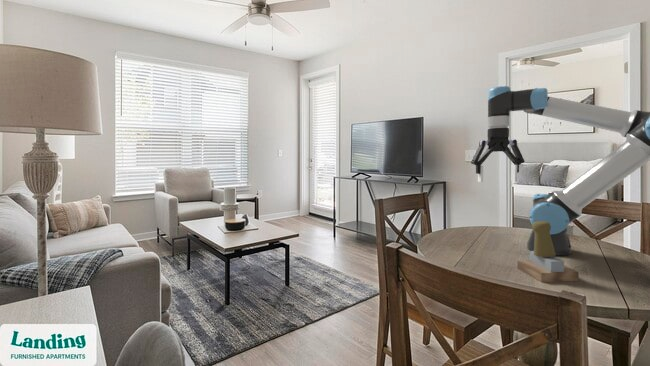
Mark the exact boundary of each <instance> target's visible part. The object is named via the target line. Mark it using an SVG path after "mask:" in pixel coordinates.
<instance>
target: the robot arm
mask: <svg viewBox="0 0 650 366" xmlns="http://www.w3.org/2000/svg"><path fill="white" fill-rule="evenodd" d="M548 91H549V90H548V89H547V88H546V87H541V88H538V87H535V88H530V89H520V90H511V87H510V86H507V85H506V86H505V85H504V86H502V85H501V86H495V87H492V88H490V89H489V90H488V100H487V128H488V129H487V140H484V139H483V140H480V141H479V143H478V147H477V149H476V151H475V152H474V155H473V157H472V159H471V161H470V163H471V165H474V166H475V174H477V182H478V183H484V165H483V164H484V162H485V161H486V160H487V158H489V156H490V155H491V153H493V152H503V153H504V154H505V155H506V156H507V158H508V159H509V160H510V161H511V163H512V164H511V165H510V168H511V169H510V181H511V182H518V181H517V180H518V173H519V172H520V166H521V165H522V164H524V163H526V162H525V159H524V157H523V155H522V152H521V150H520V148H519V146H518V141H517V139H509V137H510V128H509V127H510V112H520V111H523V112H524V113H526V114H531V115H537V116H543V117H547V118H552V119H556V120H561V121H566V122H570V123H574V124H578V125H582V126H588V127H591V128H592V127H593V128H597V129H600V130H606V131H610V132H614V133H618V134H620V135H621V137H624V138H625V142H623V143H622V144H620V145H619V146H618V147H617V148H615V149H614V150H613V151H611V152H610V153H609V154H607V155H606V156H605V157H603V158H602V159H600V160H599V161H598V162H597V163H595V164H594V165H593V166H592V167H590V168H589V169H587V171H584V173H583V174H581V175H580V176H579V177H577V178H576V179H575V180H573V181H572V182H571V183H569V184H568V185H567V186H566V187H564V188H562V189H561V190H553V191H551V192H550V193H535V194H534V195H533V199H532V202H533V203H532V208H531V209H530V210H529V211H530V212H529V221H530V223H531V225H532V224H533V223H534V222H537V221H545V222H548V223H550V225H551V230H550V231H549V232H550V236H551V240H552V243H553V247H554V251H555V254H556V255H555V256H569V255H571V254H572V251H573V250H572V249H573V247H572V244H571V240H570V239H569V236H568V226H569V225H570V224H571V223H572V222H573V221H575V220H576V219H578V218H579V217H580V216H582V215H583V214H582V212H583V208H585V207H586V206H588V205H589V204H590V203H592V202H593V201H595V200H596V199H598V198H599V197H601V196H602V195H603V194H605V193H606V192H608V191H609V190H610V189H612V188H613V187H614V186H616V185H618V184H619V183H620V182H621V181H624V179H625V178H627V177H628V176H629V175H632V174H633V173H634V172H636V171H637V170H638V169H640V168H641V167H642V166H644V165H645V164H646V163H648V162H649V161H650V111H643V110H637V109H635V110H632V111H626V110H623V109H622V110H621V109H617V108H611V107H606V106H602V105H601V106H599V105H596V104H592V103H591V104H589V103H585V102H580V101H575V100H570V99H564V98H558V97H553V96H548ZM486 146H487V148H486V149H485V147H486ZM509 146H510V148H511V149H510V148H509ZM484 150H485V151H484ZM482 153H483V154H482ZM531 229H532V228H531ZM534 238H535V231H534V230H533V229H532V230H531V232H530V235H529V237H528V240H527V242H526V249H528V250H529V251H534Z"/></svg>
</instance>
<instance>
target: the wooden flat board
mask: <svg viewBox="0 0 650 366" xmlns="http://www.w3.org/2000/svg"><path fill="white" fill-rule="evenodd" d="M517 270H519V271H520V272H522V273H525V274H526V275H527V276H529V277H532V278H533V279H535V280H537V281H539V282H540V283H550V282H551V283H553V282H556V283H557V282H573V281H574V282H575V281H576V282H577V281H579V274H580V272H579V270H576V269H573V268H571V267H569V266H567V265H565V264H564V272H549V271H548V270H546V269H544V268H542V267H540V266H538V265H536V264H535V263H533V262H531V261H530V259H529V260H524V259H523V260H517Z"/></svg>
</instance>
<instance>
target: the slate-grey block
mask: <svg viewBox="0 0 650 366" xmlns="http://www.w3.org/2000/svg"><path fill="white" fill-rule="evenodd" d="M529 260H530V261H531V262H533V263H535V264H536V265H538V266H540V267H542V268H544V269H546V270H548V271H549V272H564V265H565V260H563V259H560V258H559V257H556V256H552V257H539V256H535V255H534V251H531V250H529Z"/></svg>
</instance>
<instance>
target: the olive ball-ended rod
mask: <svg viewBox="0 0 650 366" xmlns="http://www.w3.org/2000/svg"><path fill="white" fill-rule="evenodd" d="M531 227H532V228H531V229H533V230H534V231H535V238H534V255H535V256H539V257H552V256H554V257H556V256H557V255H556V254H555V251H554V247H553V243H552V240H551V236H550V232H549V231H550V230H551V225H550V223H548V222H545V221H537V222H534V223H533V224H531Z"/></svg>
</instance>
